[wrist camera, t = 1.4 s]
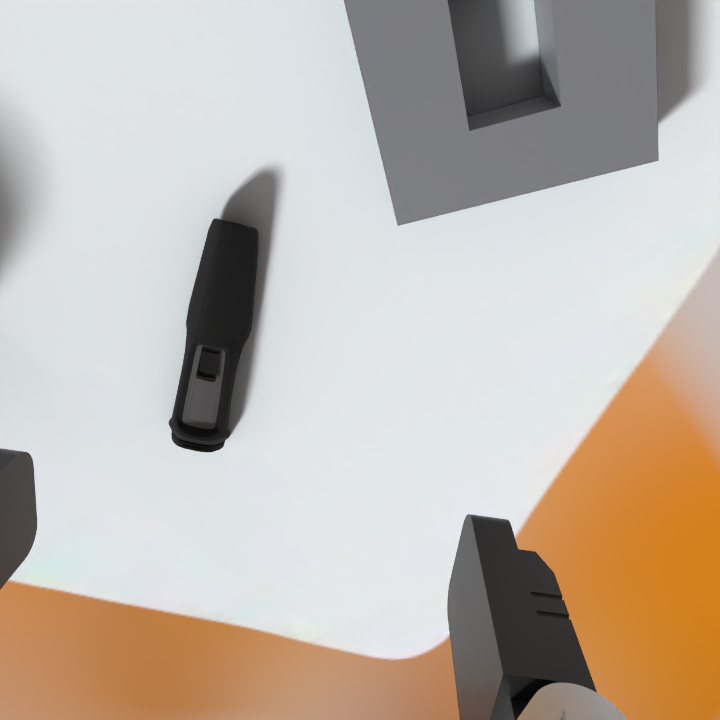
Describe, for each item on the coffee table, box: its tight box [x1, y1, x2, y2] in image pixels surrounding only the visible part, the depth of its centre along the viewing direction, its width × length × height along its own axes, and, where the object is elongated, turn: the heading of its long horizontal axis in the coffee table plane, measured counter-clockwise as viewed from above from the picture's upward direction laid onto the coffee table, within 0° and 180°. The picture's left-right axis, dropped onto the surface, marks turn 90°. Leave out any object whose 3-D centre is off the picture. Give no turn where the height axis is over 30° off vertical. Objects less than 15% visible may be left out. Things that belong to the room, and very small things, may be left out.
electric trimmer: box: [169, 219, 258, 452], centre depth 36 cm, size 4×16×3 cm, turn 164°
